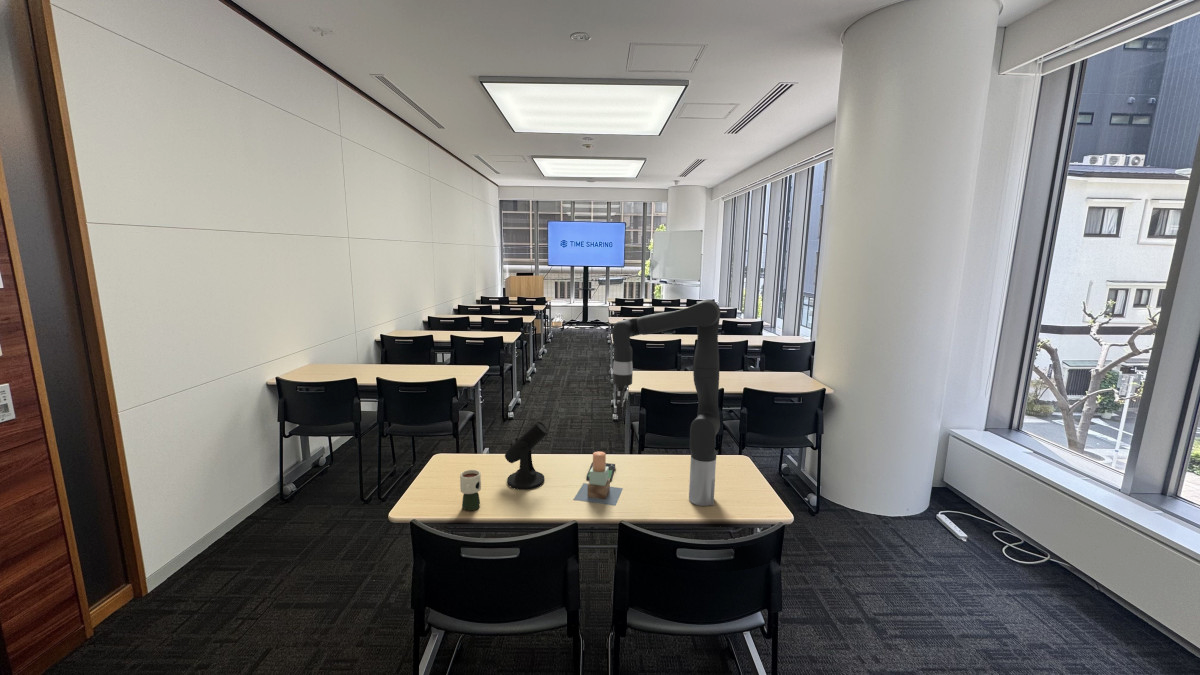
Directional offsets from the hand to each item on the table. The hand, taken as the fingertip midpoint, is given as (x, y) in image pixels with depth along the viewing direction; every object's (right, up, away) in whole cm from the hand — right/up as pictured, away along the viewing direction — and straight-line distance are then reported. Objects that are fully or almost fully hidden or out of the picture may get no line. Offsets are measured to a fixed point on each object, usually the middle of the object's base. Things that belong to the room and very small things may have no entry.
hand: (621, 412), depth 189 cm
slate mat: (-9, -31, -4) cm, 33 cm away
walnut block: (-9, -30, -5) cm, 32 cm away
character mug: (-55, -32, -15) cm, 65 cm away
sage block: (-9, -25, -5) cm, 27 cm away
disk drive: (-8, -29, +14) cm, 33 cm away
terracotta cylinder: (-9, -20, -6) cm, 23 cm away
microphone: (-38, -29, +7) cm, 48 cm away
